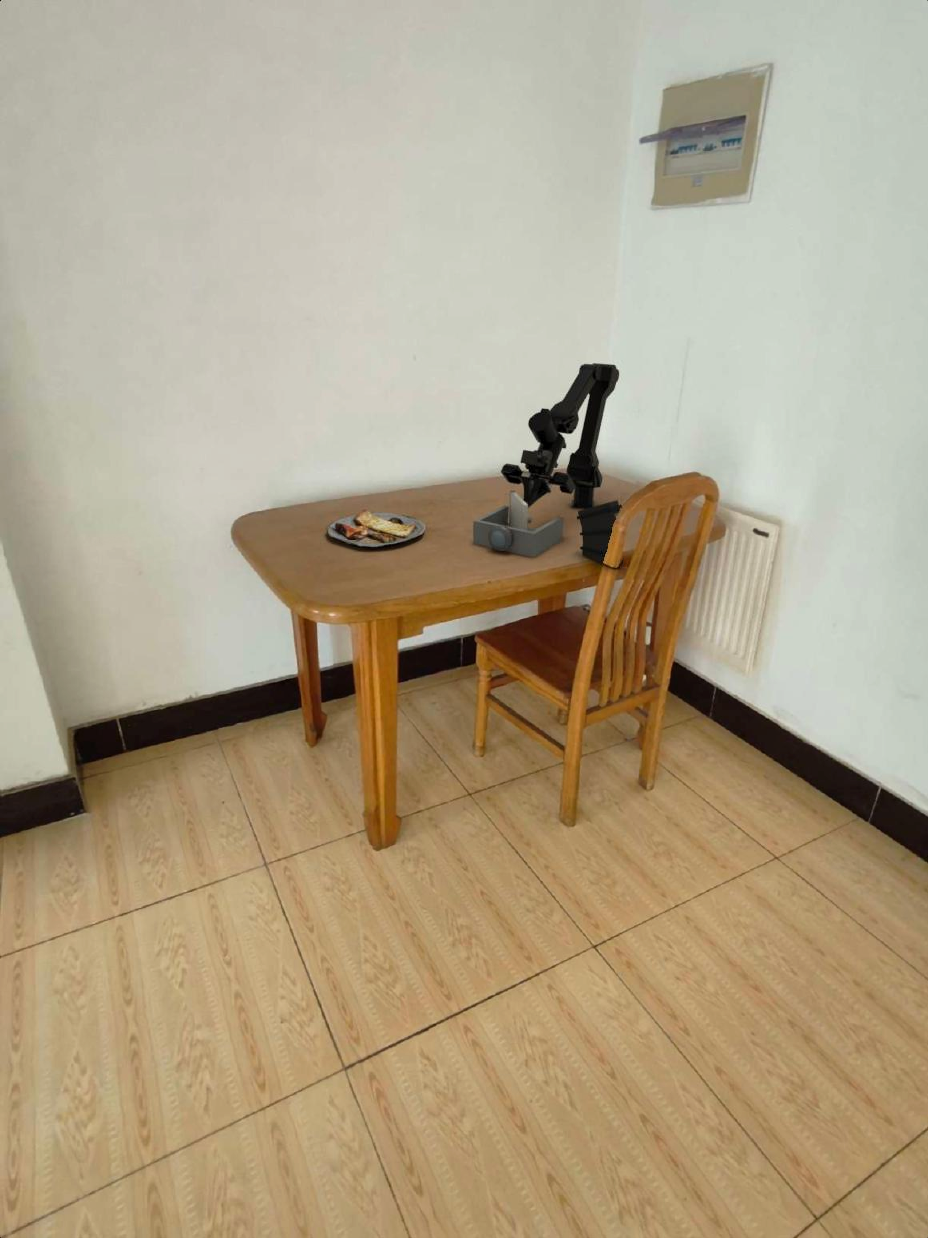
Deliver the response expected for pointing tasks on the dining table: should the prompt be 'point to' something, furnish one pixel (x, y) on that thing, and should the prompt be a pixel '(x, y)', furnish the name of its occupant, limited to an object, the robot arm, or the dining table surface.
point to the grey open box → (515, 534)
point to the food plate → (375, 528)
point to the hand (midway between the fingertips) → (525, 507)
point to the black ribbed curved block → (598, 529)
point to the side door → (518, 512)
